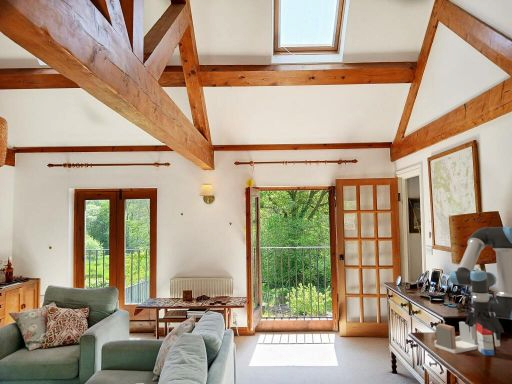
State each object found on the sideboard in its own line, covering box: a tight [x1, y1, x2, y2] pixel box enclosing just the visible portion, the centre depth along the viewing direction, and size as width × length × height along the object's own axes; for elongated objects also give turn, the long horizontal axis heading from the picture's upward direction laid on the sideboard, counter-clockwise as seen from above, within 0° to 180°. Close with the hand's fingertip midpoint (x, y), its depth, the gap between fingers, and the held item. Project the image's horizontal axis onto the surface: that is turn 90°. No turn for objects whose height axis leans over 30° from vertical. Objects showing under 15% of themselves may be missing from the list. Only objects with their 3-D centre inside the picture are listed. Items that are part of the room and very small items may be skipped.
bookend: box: [458, 321, 478, 345], centre depth 206 cm, size 2×9×10 cm, turn 21°
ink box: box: [476, 322, 495, 356], centre depth 193 cm, size 8×5×15 cm, turn 168°
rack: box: [434, 323, 478, 354], centre depth 203 cm, size 22×13×12 cm, turn 111°
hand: (485, 342), depth 193 cm, fingers open, 13 cm apart
